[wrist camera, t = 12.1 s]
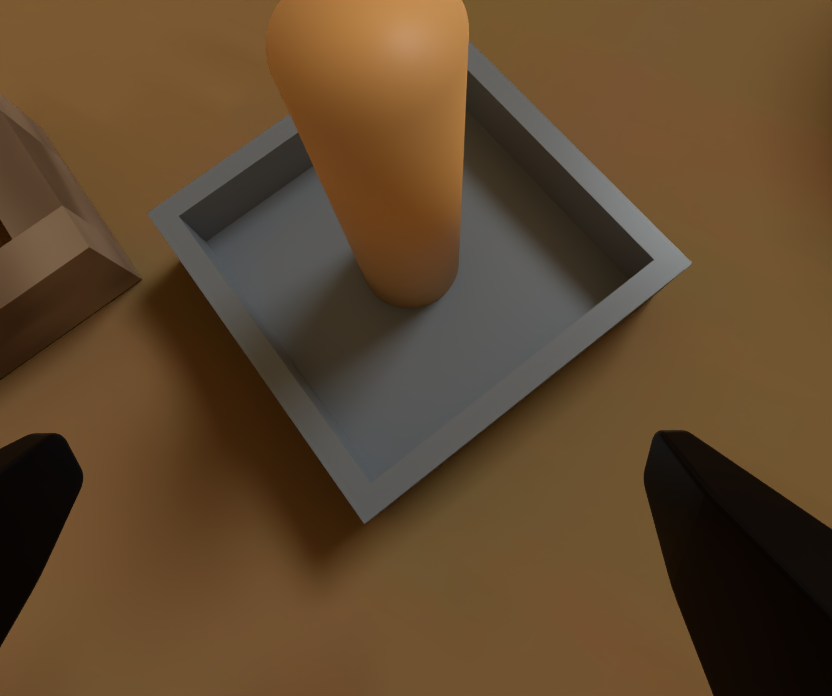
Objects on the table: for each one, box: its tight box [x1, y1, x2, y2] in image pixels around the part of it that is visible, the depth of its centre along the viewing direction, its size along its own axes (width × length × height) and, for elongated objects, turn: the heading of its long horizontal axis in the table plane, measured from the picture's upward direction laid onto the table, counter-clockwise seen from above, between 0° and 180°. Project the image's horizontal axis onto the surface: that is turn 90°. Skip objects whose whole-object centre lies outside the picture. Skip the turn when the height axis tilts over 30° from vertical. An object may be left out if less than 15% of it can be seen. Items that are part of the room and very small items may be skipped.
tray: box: [147, 41, 692, 524], centre depth 18 cm, size 13×13×3 cm
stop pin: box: [266, 0, 469, 308], centre depth 14 cm, size 4×4×10 cm
